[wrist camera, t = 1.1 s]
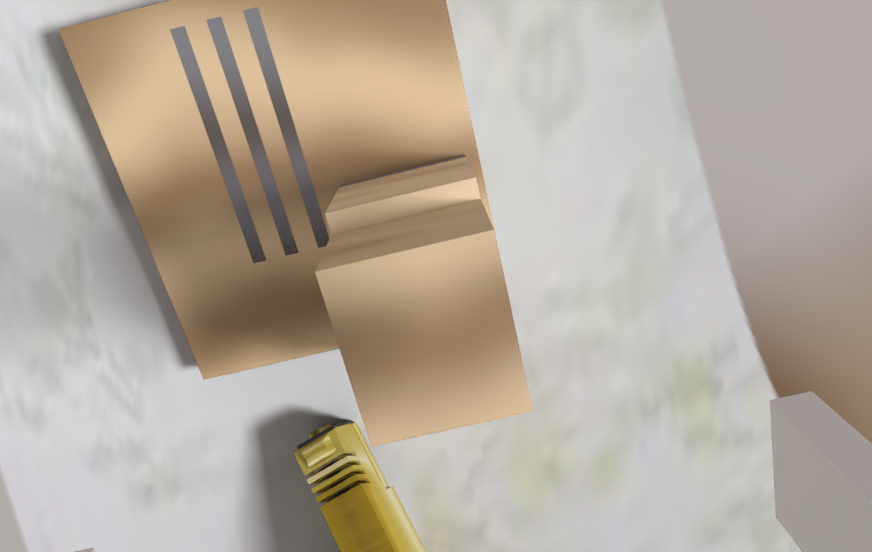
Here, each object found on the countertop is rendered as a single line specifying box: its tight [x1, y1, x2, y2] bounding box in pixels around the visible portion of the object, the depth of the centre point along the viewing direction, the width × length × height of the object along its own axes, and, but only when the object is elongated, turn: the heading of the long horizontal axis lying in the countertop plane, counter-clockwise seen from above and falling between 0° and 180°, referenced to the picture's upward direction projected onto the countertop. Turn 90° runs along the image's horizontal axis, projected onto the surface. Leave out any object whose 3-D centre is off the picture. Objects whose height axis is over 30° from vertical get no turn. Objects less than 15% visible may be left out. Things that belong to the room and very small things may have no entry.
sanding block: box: [315, 155, 533, 447], centre depth 24 cm, size 8×6×9 cm
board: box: [58, 0, 503, 379], centre depth 28 cm, size 16×15×2 cm
